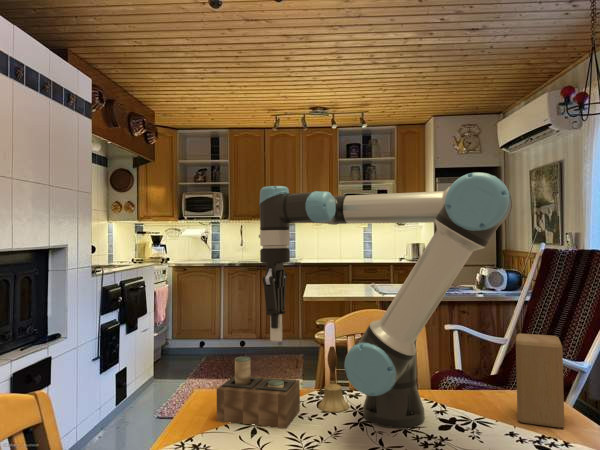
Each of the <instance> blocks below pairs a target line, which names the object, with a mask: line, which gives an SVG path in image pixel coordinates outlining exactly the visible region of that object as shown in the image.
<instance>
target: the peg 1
mask: <svg viewBox="0 0 600 450" xmlns="http://www.w3.org/2000/svg"><path fill="white" fill-rule="evenodd" d="M234 376H235V384H239V385H249V384H250V383H251V376H252V375H251V357H250V356H238V357H235V358H234Z"/></svg>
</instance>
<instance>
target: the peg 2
mask: <svg viewBox="0 0 600 450" xmlns="http://www.w3.org/2000/svg"><path fill="white" fill-rule="evenodd" d="M268 387H277V388H283V387H284V381H282V380H271V381H269V382H268Z"/></svg>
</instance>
